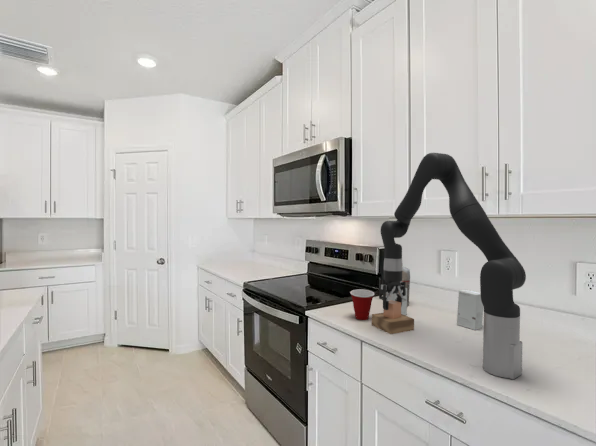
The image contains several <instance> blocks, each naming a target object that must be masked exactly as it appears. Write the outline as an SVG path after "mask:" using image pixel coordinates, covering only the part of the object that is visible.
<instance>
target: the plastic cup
mask: <svg viewBox="0 0 596 446" xmlns="http://www.w3.org/2000/svg"><path fill="white" fill-rule="evenodd" d="M349 293H350V296H351V300H352V307H353V311H354V317H355V319H356V320H359V321H367V320H368V319H369V317H370V312H371V309H372V307H371V306H372V301H373V299H374V296H375V292H374V291H372V290H369V289H362V288H361V289H360V288H359V289H353V290H351V291H349Z"/></svg>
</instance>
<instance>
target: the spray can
mask: <svg viewBox="0 0 596 446" xmlns="http://www.w3.org/2000/svg"><path fill="white" fill-rule="evenodd" d="M410 270H411V269H410V268H409V267H406V266H403V269H402V281H403V282H405V283H406V288H407V307H408V306H409V304H410V289H411V288H410V286H411V271H410Z"/></svg>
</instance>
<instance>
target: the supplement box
mask: <svg viewBox="0 0 596 446" xmlns="http://www.w3.org/2000/svg"><path fill="white" fill-rule="evenodd" d="M387 293H388V292H387ZM402 293H403V290H402ZM386 297H387V296H386ZM396 297H397V296H396V294H395V293H394V294H392V296H391V297H390V298H389V300H393V301H396ZM389 300H388V301H389ZM407 309H408V306H407V288H406V295H405V296H403V298H402V307H401V314H403V315H405V316H408V315H407V312H408V310H407Z"/></svg>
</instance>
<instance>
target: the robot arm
mask: <svg viewBox="0 0 596 446" xmlns="http://www.w3.org/2000/svg"><path fill="white" fill-rule="evenodd" d="M432 180H438V181H440V183H442V185H443V187H444V188H445V190H446V192H447V194H448V205H449V206H448V208H449V213H450V216H451V218H452V220H453V221H454V223H455V225H456V227H457V228H458V230H459V231H460V232H461V234H463V236H464V237H465V238H467V239H468V240H469V241H470V242H471V243H472V244H474V245H475V246H476V247H477V248H478V249H479V250H480V251H481V253H482V254H483V256H484V257H485V258H486V260H487V262H485V263H484V264H483V266H482V267H481V270H480V274H479V285H480V286H479V287H480V288H479V289H480V293H481V301H482V304H483V321H482V328H483V329H482V330H483V331H482V335H483V338H482V340H483V342H482V369H483V371H485V373H488V374H491V375H493V376H495V377H499V378H500V377H501V378H505V379H511V380H515V379H517V378H518V377H519V376H521V375H522V374H523V341H521V340H520V337H521V336H520V335H521V329H520V328H521V308H520V306H519V305H518V304H517V303H515V302H514V301H515V300H514V292H513V291H514V290H516V289H517V290H518V289H520V288H521V287H523V286H524V284H525V282H526V279H527V276H526V270H525V269H524V266H523V265H522V264H521V262H520V261H519V260H518V258H517V257H516V255H514V253H513V252H512V251H511V250H510V248H509V247H508V246H507V244H506V243H505V242H504V240H503V239H502V237H501V235H500V234H499V232H498V231H497V229H496V228H495V226H494V224H493V223H492V221H491V220H490V219H489V216H488V214H487V213H486V212H485V210H484V208H483V206H482V205H481V204H480V202H479V201H478V199H477V198H476V196H475V194H474V192H473V191H472V189H471V188H470V187H469V185H468V184H467V182H466V180H465V178H464V177H463V174H462V172H461V169H460V167H459V166H458V163H457V161H456V160H455V158H454V157H453V156H452V155H450V154H448V153H443V152H442V153H441V152H440V153H439V152H429V153H427V154H425V155H424V156H423V157H422V159H421V161H420V162H419V163H418V167H417V169H416V171H415V174H414V176H413V178H412V180H411V183H410V185H409V187H408V189H407V191H406V193H405V195H404V197H403V198H402V200H401V202H400V203H399V205H398V206H397V207H396V209H395V211H394V218H395V219H396V220H385V221H383V223H381V226H380V236H381V240H382V243H383V244H382V245H383V247H384V253H383V254H384V260H383V280H384V281H385V282H384V283H385V284H379V291H378V292H379V294H378V299H380V300H382V308H383V311H384V310H388V309H389V301H388V300H389V298H390V297H391V296H392V294H394V293H395V294H396V296H397V297H396V301H398V302H401V307H402V298H403V296H405V295H406V283H405V282H403V281H402V269H403V267H404V266H403V246H402V245H401V244H399V243H396V241H395V239H400V238H403V237H404V236H405V235H406V234H407V232H408V230H409V227H410V224H411V220H412V219H413V218H414V216H415V215H416V214H417V212H418V210H419V209H420V207H421V205H422V200H423V193H424V190H425V189H426V187H427V186H428V184H429V183H430V182H431V181H432ZM402 290H403V293H402ZM387 292H388V293H387ZM386 296H387V297H386Z"/></svg>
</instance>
